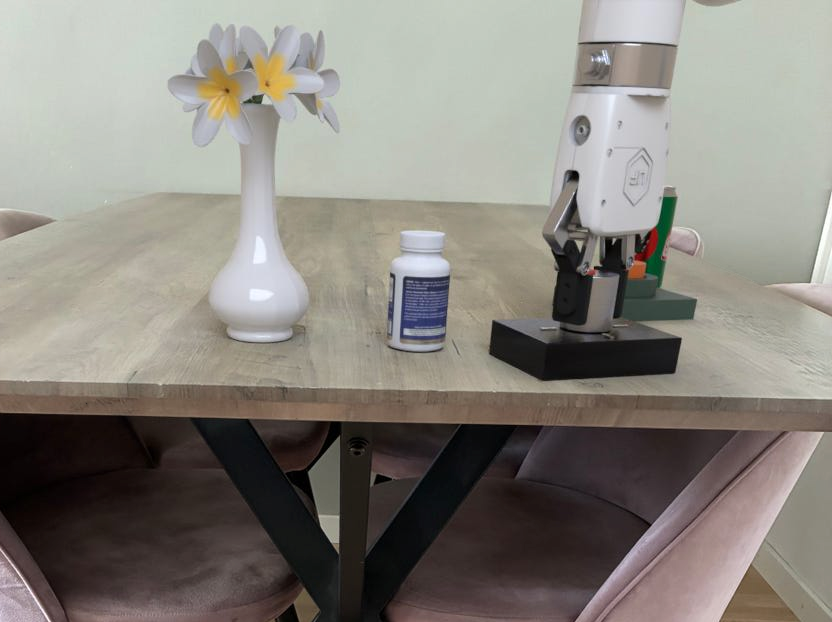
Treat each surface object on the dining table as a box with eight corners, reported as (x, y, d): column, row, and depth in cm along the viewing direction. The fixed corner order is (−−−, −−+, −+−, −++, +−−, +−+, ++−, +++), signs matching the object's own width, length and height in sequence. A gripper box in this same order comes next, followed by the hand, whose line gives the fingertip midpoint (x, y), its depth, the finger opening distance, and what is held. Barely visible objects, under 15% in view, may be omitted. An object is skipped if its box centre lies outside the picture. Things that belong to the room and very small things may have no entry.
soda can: (665, 293, 120) (685, 188, 114) (625, 292, 120) (643, 186, 114) (654, 287, 124) (672, 185, 118) (615, 285, 124) (632, 184, 118)
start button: (631, 276, 107) (634, 259, 106) (650, 281, 104) (653, 264, 103) (603, 276, 106) (606, 259, 105) (621, 281, 103) (624, 264, 102)
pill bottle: (456, 347, 88) (466, 234, 83) (417, 355, 85) (425, 237, 80) (413, 337, 91) (420, 227, 87) (374, 344, 88) (379, 230, 83)
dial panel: (611, 348, 90) (617, 313, 89) (675, 373, 82) (683, 335, 81) (488, 353, 86) (492, 317, 85) (542, 380, 78) (547, 341, 77)
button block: (640, 303, 113) (647, 267, 111) (693, 319, 105) (701, 281, 103) (551, 306, 109) (556, 269, 107) (599, 323, 101) (605, 283, 99)
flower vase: (167, 355, 81) (146, 6, 69) (217, 315, 97) (207, 26, 85) (318, 364, 80) (323, 11, 68) (343, 322, 96) (351, 30, 84)
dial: (579, 320, 85) (587, 263, 83) (620, 329, 83) (630, 270, 80) (549, 326, 83) (556, 267, 80) (591, 335, 80) (600, 274, 78)
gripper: (602, 68, 66) (564, 339, 75) (721, 80, 76) (675, 316, 85) (516, 68, 71) (490, 323, 80) (639, 79, 81) (604, 303, 90)
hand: (586, 317), depth 82 cm, fingers closed on dial, 4 cm apart
